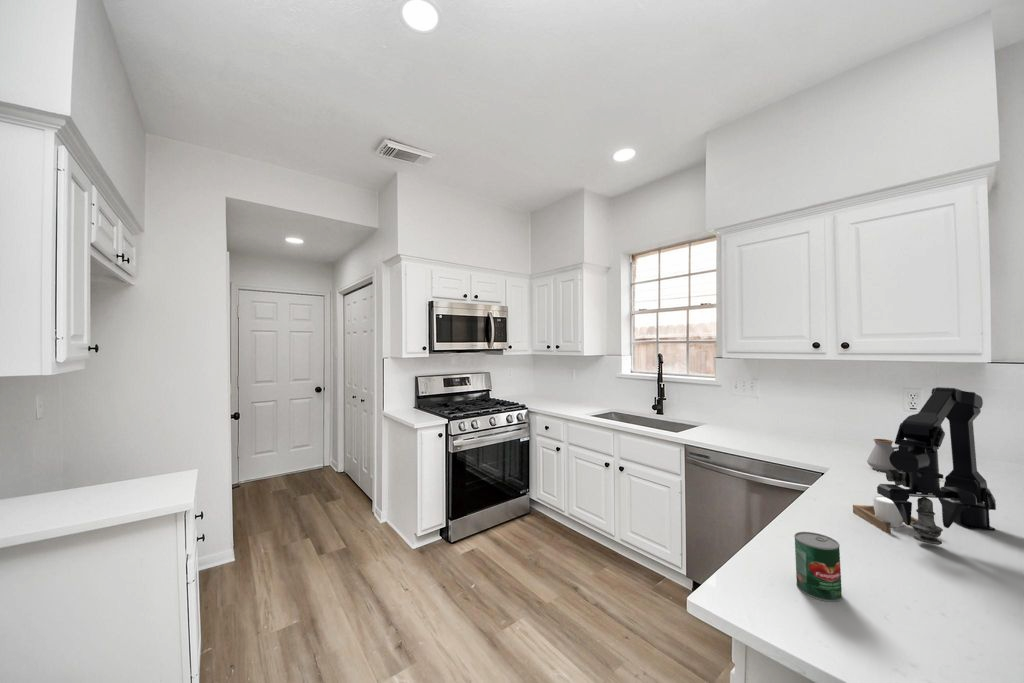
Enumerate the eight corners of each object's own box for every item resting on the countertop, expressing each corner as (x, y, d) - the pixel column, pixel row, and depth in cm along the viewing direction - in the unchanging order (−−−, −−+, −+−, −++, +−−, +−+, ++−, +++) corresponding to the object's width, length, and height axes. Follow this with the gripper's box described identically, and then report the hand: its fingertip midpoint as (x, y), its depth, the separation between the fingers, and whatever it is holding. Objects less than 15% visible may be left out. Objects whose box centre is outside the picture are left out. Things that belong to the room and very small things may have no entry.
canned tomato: (828, 606, 80) (825, 551, 80) (788, 585, 87) (786, 535, 88) (850, 595, 83) (847, 543, 84) (809, 577, 90) (807, 529, 91)
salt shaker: (950, 545, 101) (947, 498, 101) (924, 544, 102) (921, 497, 102) (930, 535, 106) (927, 491, 107) (905, 534, 107) (902, 490, 108)
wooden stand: (893, 514, 124) (893, 504, 124) (933, 536, 109) (932, 525, 109) (852, 512, 126) (852, 502, 126) (886, 533, 111) (885, 522, 111)
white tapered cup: (896, 519, 120) (895, 496, 120) (910, 529, 114) (909, 504, 114) (868, 517, 122) (867, 494, 123) (881, 526, 116) (879, 502, 116)
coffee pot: (863, 469, 172) (861, 434, 172) (872, 464, 178) (870, 431, 179) (933, 481, 154) (930, 443, 154) (940, 476, 160) (938, 439, 161)
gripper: (939, 460, 111) (943, 516, 110) (862, 458, 115) (865, 512, 114) (976, 472, 100) (980, 534, 99) (890, 469, 104) (893, 528, 103)
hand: (926, 526), depth 104 cm, fingers closed on salt shaker, 8 cm apart
